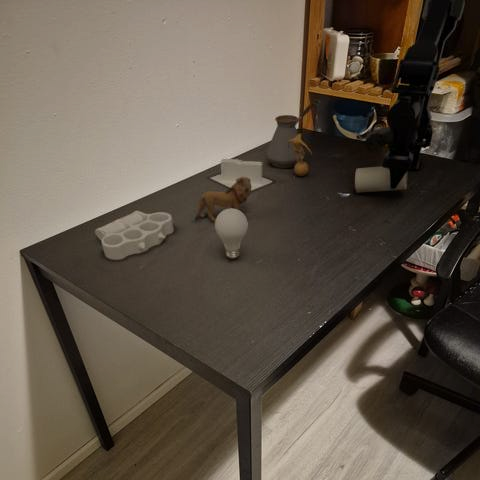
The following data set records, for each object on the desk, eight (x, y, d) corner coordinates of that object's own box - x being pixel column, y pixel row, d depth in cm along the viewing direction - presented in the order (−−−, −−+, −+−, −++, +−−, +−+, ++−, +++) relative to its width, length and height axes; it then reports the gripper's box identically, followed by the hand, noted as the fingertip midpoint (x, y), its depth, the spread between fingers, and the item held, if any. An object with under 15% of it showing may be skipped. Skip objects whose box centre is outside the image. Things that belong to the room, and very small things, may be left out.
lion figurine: (247, 206, 107) (247, 171, 101) (255, 215, 103) (255, 180, 97) (192, 217, 104) (188, 182, 98) (197, 227, 100) (194, 191, 94)
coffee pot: (288, 173, 122) (291, 118, 112) (258, 164, 128) (258, 111, 118) (328, 152, 133) (334, 100, 124) (299, 144, 139) (302, 95, 129)
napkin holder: (273, 181, 118) (274, 161, 114) (243, 194, 113) (243, 173, 109) (238, 167, 127) (237, 147, 123) (209, 178, 121) (207, 158, 117)
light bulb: (252, 252, 91) (252, 204, 84) (242, 268, 86) (241, 220, 79) (223, 247, 93) (220, 200, 86) (212, 263, 88) (208, 215, 81)
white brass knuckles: (147, 215, 105) (186, 233, 98) (84, 244, 95) (123, 267, 88) (144, 202, 103) (185, 220, 96) (80, 231, 93) (120, 254, 86)
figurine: (316, 177, 119) (320, 133, 112) (304, 184, 116) (307, 139, 108) (293, 169, 124) (295, 127, 116) (280, 176, 121) (282, 132, 113)
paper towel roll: (359, 187, 114) (358, 165, 110) (407, 183, 108) (407, 160, 105) (355, 196, 109) (354, 173, 106) (405, 193, 104) (405, 169, 101)
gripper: (376, 104, 105) (367, 166, 116) (365, 128, 92) (355, 195, 103) (423, 107, 102) (409, 170, 112) (418, 131, 89) (403, 200, 99)
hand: (394, 183), depth 107 cm, fingers closed on paper towel roll, 6 cm apart
